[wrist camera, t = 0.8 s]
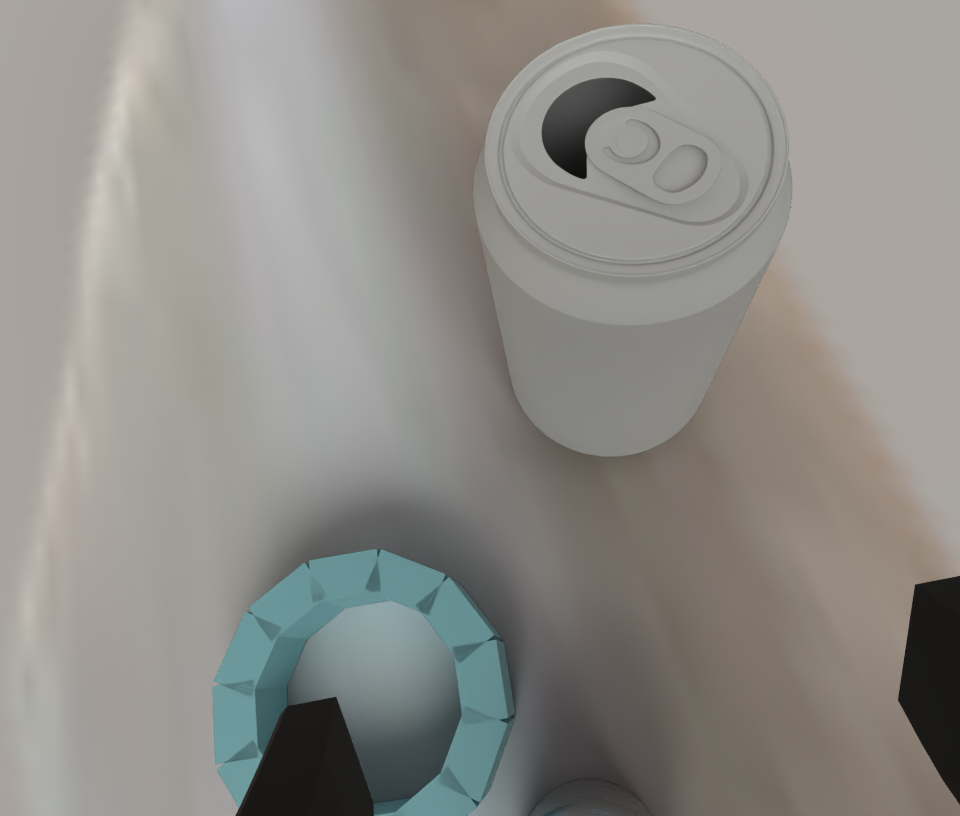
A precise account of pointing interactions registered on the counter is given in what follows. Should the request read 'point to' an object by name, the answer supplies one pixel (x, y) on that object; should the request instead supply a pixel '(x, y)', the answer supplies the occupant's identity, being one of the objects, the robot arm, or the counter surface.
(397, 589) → the teal bead ring
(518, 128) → the beverage can
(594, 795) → the steel peg
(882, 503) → the counter surface
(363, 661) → the counter surface
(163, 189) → the counter surface
